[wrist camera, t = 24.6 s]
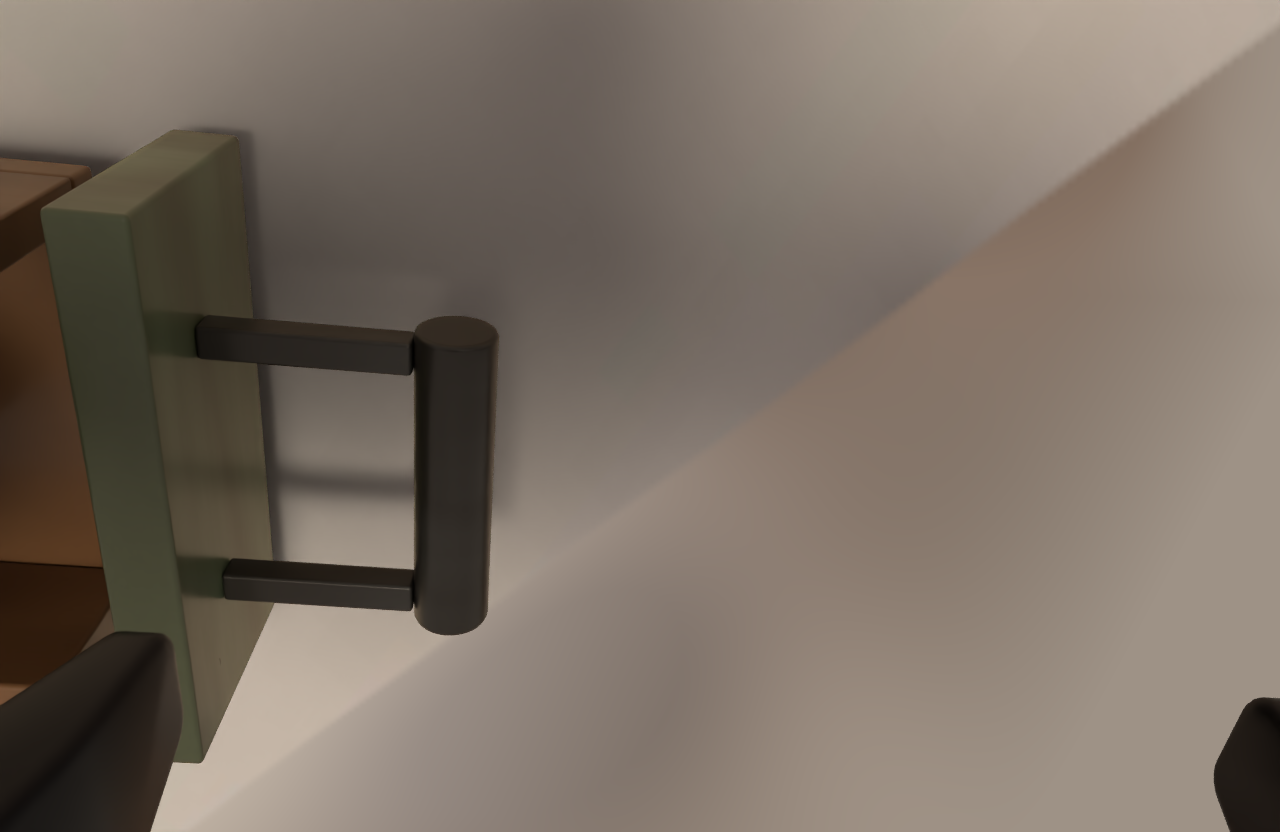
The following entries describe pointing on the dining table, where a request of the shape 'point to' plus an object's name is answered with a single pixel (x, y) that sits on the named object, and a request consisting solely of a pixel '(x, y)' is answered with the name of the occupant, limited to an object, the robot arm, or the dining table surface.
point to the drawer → (193, 429)
